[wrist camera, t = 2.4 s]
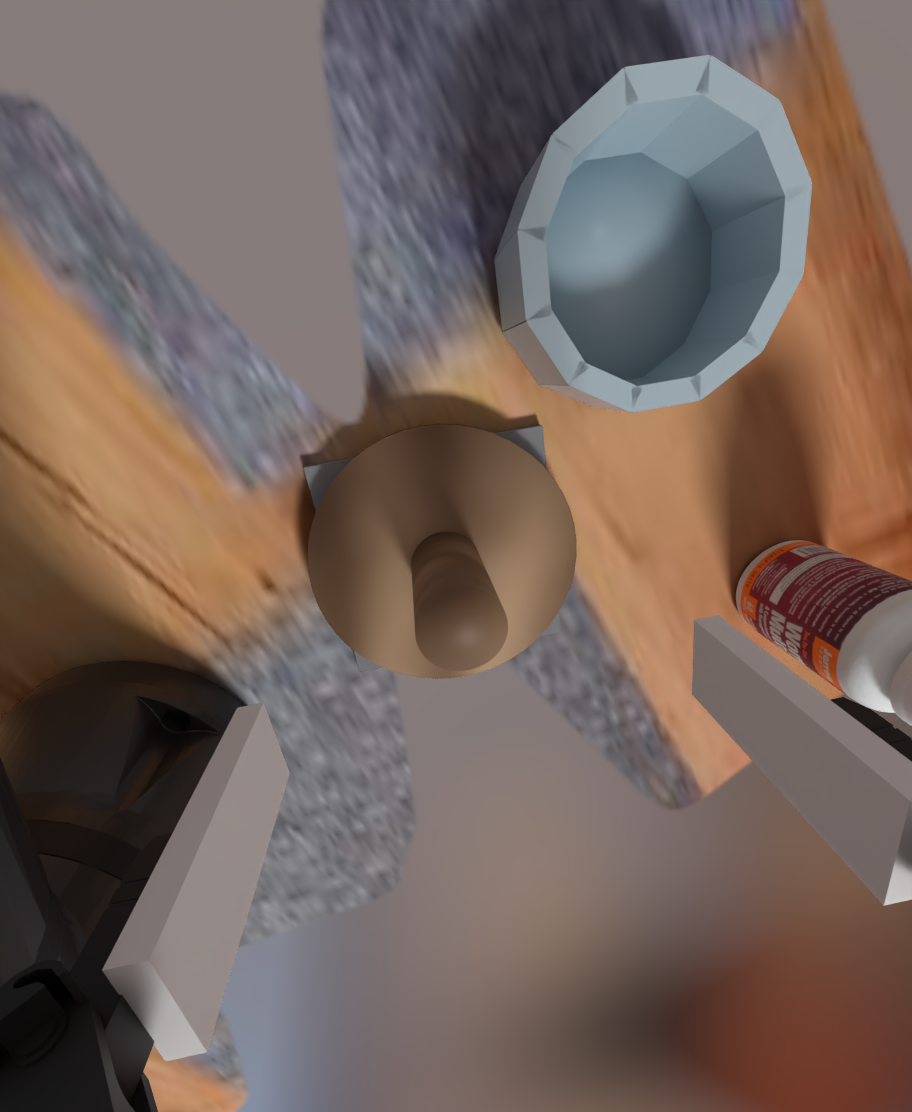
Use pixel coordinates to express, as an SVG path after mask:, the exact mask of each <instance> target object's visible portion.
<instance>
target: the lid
mask: <svg viewBox="0 0 912 1112" xmlns="http://www.w3.org/2000/svg"><path fill="white" fill-rule="evenodd" d="M307 558H308V572H309V577H310V582H311V586H312V590H313V593H314V596H315V598H316V601H317V604H318V606H319V608H320V610H321V612H322V613H323V615H324V617H325V619H326V620H327V622H328V623H329V625H330V626H331V627H332V629H333V630H334V631H335V633H336V634H337V635H338V636H339V637H340V638H341V639H342V640H343V641H344V642H345V643H346V644H347V645H348V646H349V647H351V648H352V649H353V650H354V651H356V652H357V653H358V654H359V655H361V656H363V657H364V658H366V659H368V660H369V661H371V662H372V663H375V664H377V665H379V666H381V667H383V668H385V669H388V670H391V671H394V672H397V673H400V674H405V675H409V676H415V677H420V678H433V679H434V678H435V679H436V678H437V679H438V678H455V677H461V676H467V675H471V674H475V673H479V672H482V671H485V670H488V669H490V668H493V667H496V666H498V665H500V664H502V663H504V662H506V661H508V660H509V659H511V658H513V657H514V656H516V655H517V654H519V653H520V652H522V651H523V650H525V649H526V648H527V647H528V646H529V645H531V644H532V643H533V642H534V641H535V640H536V639H537V638H538V637H539V636H540V635H541V634H542V633H543V632H544V631H545V630H546V629H547V627H548V626H549V625H550V623H551V622H552V621H553V619H554V618H555V617H556V615H557V613H558V612H559V610H560V608H561V606H562V605H563V603H564V601H565V598H566V596H567V594H568V591H569V589H570V586H571V582H572V578H573V575H574V570H575V563H576V534H575V527H574V522H573V518H572V515H571V511H570V508H569V506H568V503H567V501H566V499H565V497H564V494H563V492H562V491H561V489H560V488H559V486H558V484H557V483H556V481H555V480H554V478H553V477H552V476H551V475H550V473H549V472H548V471H547V470H546V469H545V467H544V466H543V465H542V464H541V463H540V462H538V461H537V460H536V459H535V458H534V457H533V456H532V455H531V454H529V453H528V452H526V451H525V450H523V449H522V448H520V447H519V446H517V445H516V444H514V443H513V442H511V441H509V440H507V439H505V438H503V437H501V436H498V435H496V434H494V433H492V432H488V431H485V430H482V429H479V428H475V427H469V426H463V425H456V424H435V425H425V426H418V427H414V428H410V429H406V430H402V431H400V432H397V433H395V434H392V435H390V436H387V437H385V438H383V439H381V440H379V441H378V442H376V443H374V444H372V445H370V446H369V447H367V448H366V449H365V450H363V451H362V452H361V453H359V454H358V455H357V456H355V457H354V458H353V459H352V460H351V461H350V462H349V463H348V464H347V465H346V466H345V467H344V468H343V469H342V470H341V471H340V473H339V474H338V475H337V477H336V478H335V479H334V481H333V482H332V483H331V485H330V486H329V488H328V489H327V491H326V493H325V495H324V496H323V498H322V500H321V502H320V504H319V506H318V508H317V511H316V514H315V516H314V519H313V522H312V526H311V531H310V535H309V541H308V555H307Z"/></svg>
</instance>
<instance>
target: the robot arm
mask: <svg viewBox="0 0 912 1112" xmlns="http://www.w3.org/2000/svg"><path fill="white" fill-rule="evenodd" d="M692 695H693V696H694V697H695V698H696V699H697V700H698V701H699V702H700V703H701V704H702V706H703V707H704V708H705V709H706V710H707V711H708V712H709V713H710V714H711V716H712V717H713V718H714V719H715V720H716V721H717V722H718V723H719V724H720V725H721V727H722V728H723V729H724V730H725V731H726V732H727V733H728V734H729V735H730V736H731V738H732V739H733V740H734V741H735V742H736V743H737V744H738V745H739V746H740V747H741V749H742V750H743V751H744V752H745V753H746V754H747V755H748V756H749V757H750V759H751V760H752V761H753V762H754V763H755V764H756V765H757V766H758V767H759V768H760V769H761V771H762V772H763V773H764V774H765V775H766V776H767V777H768V778H769V779H770V780H771V782H772V783H773V784H774V785H775V786H776V787H777V788H778V789H779V790H780V792H781V793H782V794H783V795H784V796H785V797H786V798H787V799H788V800H789V802H790V803H791V804H792V805H793V806H794V807H795V808H796V809H797V810H798V811H799V813H801V815H802V816H803V817H804V818H805V819H806V820H807V821H808V822H809V824H810V825H811V826H812V827H813V828H814V829H815V830H816V831H817V832H818V833H819V835H820V836H821V837H822V838H823V839H824V840H825V841H826V842H827V843H828V845H829V846H830V847H831V848H832V849H833V850H834V851H835V852H836V853H837V854H838V855H839V857H840V858H841V859H842V860H843V861H844V862H845V863H846V864H847V865H848V866H849V868H850V869H851V870H852V871H853V872H854V873H855V874H856V875H857V876H858V877H859V879H860V880H861V881H862V882H863V883H864V884H865V885H866V886H867V888H868V889H869V890H870V891H871V892H872V893H873V894H874V895H875V896H876V897H877V898H878V900H879V901H880V902H881V903H882V904H883V905H888V904H893V903H897V902H901V901H907V900H911V899H912V739H911V738H910V737H909V736H907V735H906V734H905V733H903V732H902V731H900V730H899V729H898V728H896V729H895V728H894V727H893V725H892V724H891V723H889V722H888V721H886V720H885V719H884V718H882V717H881V716H879V715H878V714H877V713H875V712H874V711H872V710H871V709H869V708H867V707H864V706H862V705H860V704H858V703H855V702H853V701H851V700H848V699H846V698H844V697H842V698H837V699H832V700H829V699H828V698H827V697H825V696H824V695H823V694H822V693H820V692H819V691H818V690H816V689H815V688H814V687H812V686H811V685H810V684H808V683H807V682H806V681H804V680H803V679H802V678H800V677H799V676H798V675H796V674H795V673H794V672H792V671H791V670H790V669H789V668H787V667H786V666H785V665H783V664H782V663H781V662H779V661H778V660H777V659H775V658H774V657H773V656H771V655H770V654H769V653H767V652H766V651H765V650H763V649H762V648H761V647H759V646H758V645H757V644H756V643H754V642H753V641H752V640H750V639H749V638H748V637H746V636H745V635H744V634H742V633H741V632H740V631H738V630H737V629H736V628H734V627H733V626H732V625H730V624H729V623H728V622H726V621H725V620H724V619H722V618H721V617H720V616H719V615H718V616H713V617H708V618H702V619H697V620H694V643H693V680H692ZM289 774H290V773H289V770H288V768H287V765H286V762H285V760H284V757H283V754H282V752H281V749H280V746H279V744H278V741H277V738H276V736H275V733H274V730H273V727H272V725H271V722H270V719H269V717H268V714H267V711H266V709H265V706H264V703H259V704H254V705H249V706H243V705H242V704H241V703H240V702H239V701H238V700H237V699H235V698H234V697H233V696H231V695H230V694H229V693H227V692H226V691H224V690H223V689H221V688H220V687H218V686H216V685H214V684H212V683H211V682H209V681H207V680H205V679H202V678H200V677H198V676H196V675H193V674H190V673H188V672H185V671H182V670H179V669H175V668H171V667H167V666H162V665H157V664H151V663H142V662H107V663H98V664H92V665H87V666H83V667H79V668H76V669H72V670H69V671H67V672H64V673H61V674H59V675H57V676H55V677H53V678H51V679H49V680H48V681H46V682H44V683H43V684H41V685H40V686H38V687H37V688H35V689H34V690H33V691H32V692H31V693H29V694H28V695H27V696H26V697H25V698H23V699H22V700H21V701H20V702H19V703H18V704H16V705H15V706H14V707H13V708H12V709H10V710H9V711H8V712H7V713H6V714H5V715H4V716H3V717H2V718H1V719H0V1112H158V1110H157V1107H156V1103H155V1100H154V1096H153V1093H152V1090H151V1086H150V1083H149V1080H148V1078H147V1077H146V1075H145V1074H144V1073H143V1070H144V1068H145V1065H146V1062H147V1060H148V1057H149V1054H150V1052H151V1049H152V1047H153V1044H154V1046H155V1047H156V1048H157V1050H158V1051H159V1053H160V1054H161V1056H162V1057H163V1058H164V1060H165V1061H169V1060H174V1059H179V1058H183V1057H188V1056H192V1055H197V1054H202V1053H206V1052H207V1051H208V1048H209V1044H210V1041H211V1038H212V1034H213V1031H214V1028H215V1024H216V1021H217V1017H218V1014H219V1011H220V1007H221V1004H222V1001H223V997H224V994H225V990H226V987H227V984H228V980H229V977H230V974H231V970H232V967H233V963H234V960H235V956H236V953H237V950H238V946H239V943H240V940H241V936H242V933H243V930H244V926H245V923H246V919H247V916H248V913H249V909H250V906H251V903H252V899H253V896H254V892H255V889H256V886H257V882H258V879H259V876H260V872H261V869H262V865H263V862H264V859H265V855H266V852H267V849H268V845H269V842H270V838H271V835H272V832H273V828H274V825H275V822H276V818H277V815H278V811H279V808H280V805H281V801H282V798H283V795H284V791H285V788H286V784H287V781H288V778H289Z"/></svg>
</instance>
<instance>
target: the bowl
mask: <svg viewBox="0 0 912 1112" xmlns="http://www.w3.org/2000/svg"><path fill="white" fill-rule="evenodd" d="M811 183H812V181H811V179H810V176H809V174H808V171H807V168H806V166H805V163H804V161H803V158H802V156H801V153H800V150H799V148H798V145H797V143H796V140H795V138H794V135H793V132H792V130H791V127H790V125H789V122H788V120H787V117H786V114H785V112H784V109H783V107H782V104H781V101H780V102H779V99H777V98H776V97H774V96H773V95H771V94H770V93H768V92H767V91H765V90H764V89H762V88H761V87H759V86H758V85H756V84H754V83H753V82H751V81H750V80H748V79H747V78H745V77H744V76H742V75H741V74H739V73H738V72H736V71H735V70H733V69H732V68H730V67H729V66H727V65H725V64H724V63H722V62H721V61H719V60H718V59H716V58H715V57H713V56H712V55H704V56H697V57H690V58H683V59H676V60H669V61H662V62H655V63H648V64H641V65H634V66H627V67H624V68H622V69H621V70H620V71H619V72H618V73H617V74H616V75H615V76H614V77H613V78H612V79H611V80H610V81H608V82H607V83H606V84H605V85H604V86H603V87H602V88H601V89H600V90H599V91H598V92H597V93H596V94H594V95H593V96H592V97H591V98H590V99H589V100H588V101H587V102H586V103H585V104H584V105H583V106H582V107H580V108H579V109H578V110H577V111H576V112H575V113H574V114H573V115H572V116H571V117H570V118H569V119H568V120H567V121H565V122H564V123H563V124H562V125H561V126H560V127H559V128H558V129H557V130H556V131H555V132H554V133H553V134H552V135H551V137H550V138H549V140H548V142H547V143H546V145H545V146H544V148H543V150H542V151H541V153H540V155H539V156H538V158H537V159H536V161H535V163H534V164H533V166H532V168H531V169H530V171H529V172H528V174H527V176H526V177H525V179H524V181H523V182H522V184H521V185H520V188H519V191H518V194H517V197H516V199H515V202H514V205H513V208H512V211H511V213H510V216H509V219H508V222H507V225H506V228H505V230H504V233H503V236H502V239H501V242H500V244H499V247H498V250H497V253H496V256H495V260H494V262H495V271H496V280H497V289H498V299H499V307H500V316H501V325H502V331H504V332H503V334H504V335H505V337H506V338H507V340H508V341H509V343H510V344H511V345H512V347H513V348H514V350H515V351H516V353H517V354H518V356H519V357H520V359H521V360H522V361H523V363H524V364H525V366H526V367H527V369H528V370H529V372H530V373H531V375H532V376H533V377H534V379H535V380H536V382H537V383H538V384H539V385H541V386H543V387H546V388H548V389H550V390H553V391H555V392H557V393H560V394H562V395H564V396H567V397H569V398H571V399H574V400H576V401H578V402H581V403H583V404H585V405H588V406H590V407H596V408H603V409H610V410H617V411H624V412H631V413H633V412H639V411H645V410H650V409H656V408H662V407H667V406H673V405H679V404H684V403H690V402H696V401H700V400H702V399H703V398H704V397H706V396H707V395H708V394H710V393H711V392H712V391H713V390H715V389H716V388H717V387H718V386H720V385H721V384H722V383H724V382H725V381H726V380H727V379H729V378H730V377H731V376H732V375H734V374H735V373H736V372H738V371H739V370H740V369H741V368H743V367H744V366H745V365H746V364H748V363H749V362H750V361H752V360H753V359H754V358H755V357H757V356H758V355H759V354H760V353H762V351H763V350H764V348H765V346H766V344H767V342H768V340H769V338H770V336H771V335H772V333H773V331H774V329H775V327H776V325H777V323H778V322H779V320H780V318H781V316H782V314H783V312H784V310H785V309H786V307H787V305H788V303H789V301H790V299H791V297H792V295H793V294H794V292H795V290H796V288H797V286H798V284H799V282H800V281H801V279H802V277H803V274H804V264H805V254H806V243H807V233H808V222H809V212H810V201H811V191H812V184H811Z"/></svg>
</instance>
